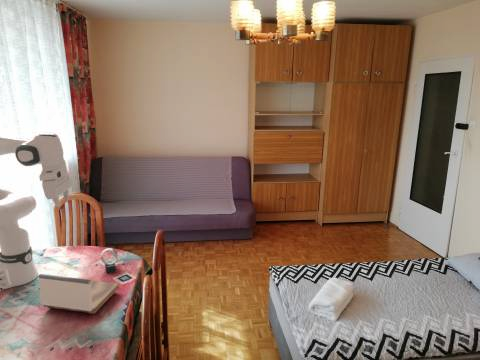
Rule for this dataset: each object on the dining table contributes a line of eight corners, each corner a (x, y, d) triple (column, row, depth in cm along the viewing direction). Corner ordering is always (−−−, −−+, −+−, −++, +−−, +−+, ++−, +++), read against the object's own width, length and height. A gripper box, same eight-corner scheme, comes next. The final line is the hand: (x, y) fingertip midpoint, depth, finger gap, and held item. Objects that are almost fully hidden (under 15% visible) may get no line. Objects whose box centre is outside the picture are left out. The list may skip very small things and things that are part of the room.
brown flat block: (44, 310, 134) (43, 302, 133) (73, 286, 151) (72, 278, 150) (95, 318, 130) (94, 309, 129) (119, 292, 147) (118, 283, 146)
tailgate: (40, 304, 131) (38, 275, 129) (43, 302, 133) (41, 273, 130) (90, 311, 128) (88, 281, 125) (92, 309, 129) (91, 279, 127)
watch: (119, 270, 165) (118, 249, 162) (102, 273, 162) (100, 252, 159) (118, 265, 170) (117, 245, 167) (101, 268, 167) (99, 247, 164)
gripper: (56, 167, 150) (63, 197, 153) (37, 177, 130) (45, 211, 133) (71, 165, 150) (78, 195, 154) (54, 175, 131) (62, 209, 134)
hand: (62, 203), depth 143 cm, fingers open, 8 cm apart
